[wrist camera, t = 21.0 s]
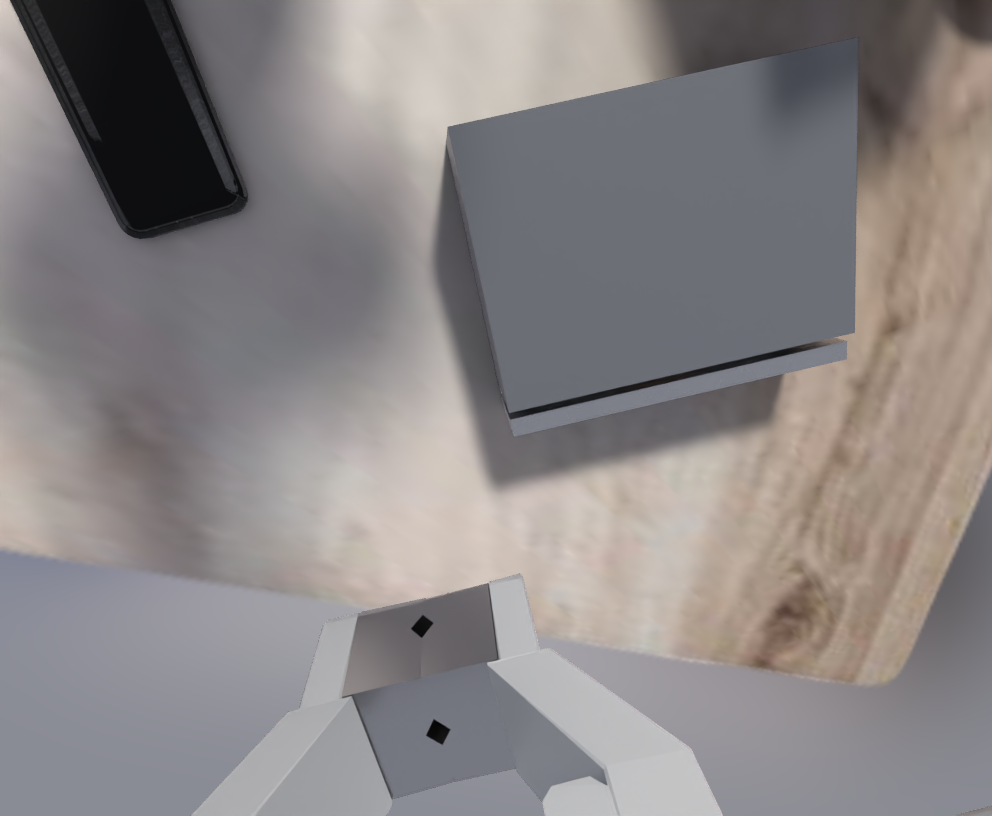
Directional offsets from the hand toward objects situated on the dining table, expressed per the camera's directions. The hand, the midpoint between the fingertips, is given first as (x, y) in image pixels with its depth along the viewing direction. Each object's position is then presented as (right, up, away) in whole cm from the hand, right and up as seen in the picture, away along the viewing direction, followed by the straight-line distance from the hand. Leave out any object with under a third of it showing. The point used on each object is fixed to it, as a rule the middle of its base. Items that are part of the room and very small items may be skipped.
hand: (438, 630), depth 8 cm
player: (+10, +15, +29) cm, 34 cm away
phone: (-20, +22, +24) cm, 38 cm away
